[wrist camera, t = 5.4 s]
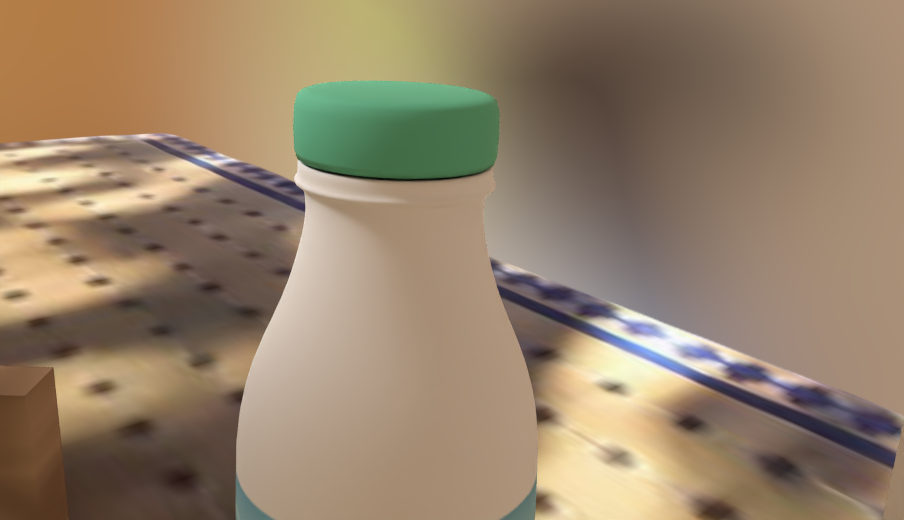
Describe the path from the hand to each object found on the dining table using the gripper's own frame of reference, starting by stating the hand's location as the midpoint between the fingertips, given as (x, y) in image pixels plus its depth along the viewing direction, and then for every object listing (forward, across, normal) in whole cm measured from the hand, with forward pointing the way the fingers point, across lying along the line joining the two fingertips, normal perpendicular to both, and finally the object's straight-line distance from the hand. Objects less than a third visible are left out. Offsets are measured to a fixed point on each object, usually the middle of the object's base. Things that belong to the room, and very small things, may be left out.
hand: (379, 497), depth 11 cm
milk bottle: (+10, 0, -16) cm, 19 cm away
